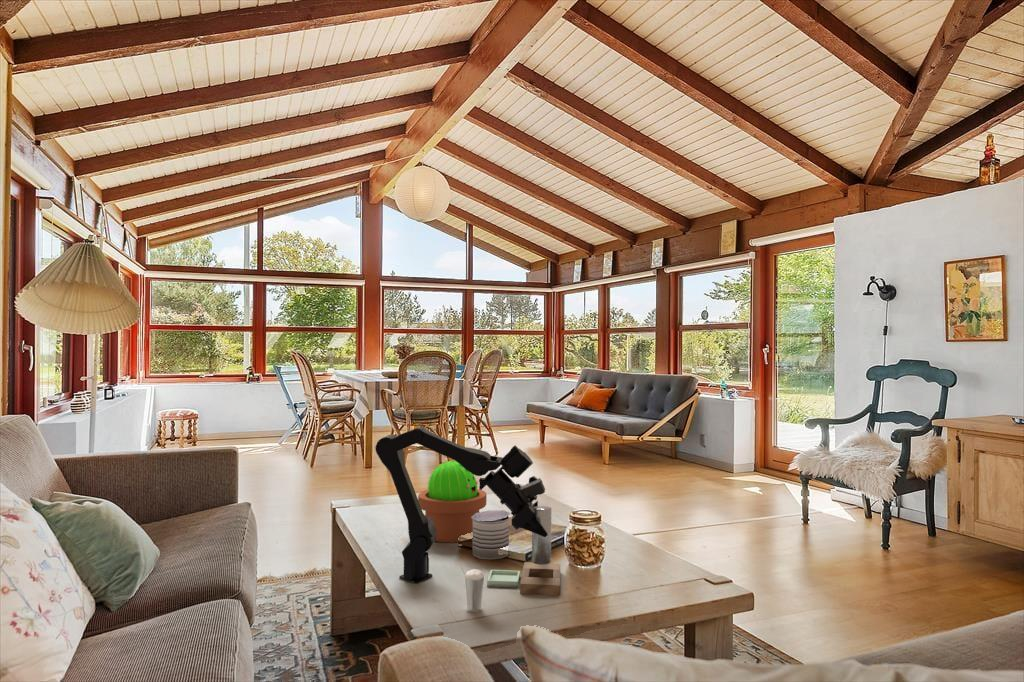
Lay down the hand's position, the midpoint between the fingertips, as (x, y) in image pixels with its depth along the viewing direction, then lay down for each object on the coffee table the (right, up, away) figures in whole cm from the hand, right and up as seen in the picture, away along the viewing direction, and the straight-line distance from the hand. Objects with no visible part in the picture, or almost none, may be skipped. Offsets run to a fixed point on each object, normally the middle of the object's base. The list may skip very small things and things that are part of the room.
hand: (546, 532), depth 167 cm
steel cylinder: (-1, -8, 0) cm, 8 cm away
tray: (-11, -13, +1) cm, 17 cm away
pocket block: (-1, -13, 0) cm, 13 cm away
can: (-16, -13, +23) cm, 31 cm away
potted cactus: (-29, -13, +41) cm, 52 cm away
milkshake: (-19, -13, -17) cm, 29 cm away
